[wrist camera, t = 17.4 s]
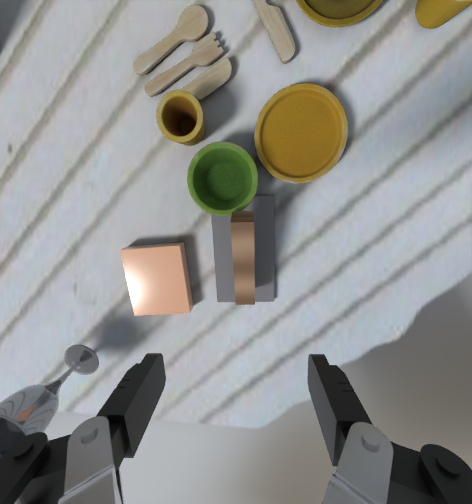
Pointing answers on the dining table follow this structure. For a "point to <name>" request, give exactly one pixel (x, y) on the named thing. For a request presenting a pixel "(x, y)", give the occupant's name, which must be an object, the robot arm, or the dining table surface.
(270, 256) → the rubber mat
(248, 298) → the walnut stick
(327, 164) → the tableware set
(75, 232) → the dining table surface
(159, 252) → the terracotta tile
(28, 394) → the wine glass
